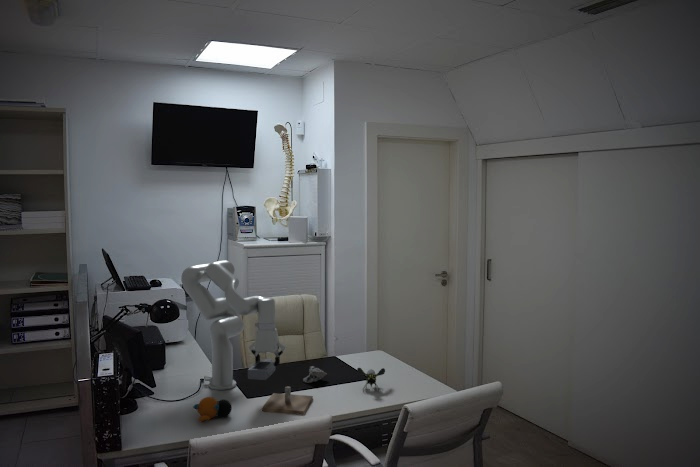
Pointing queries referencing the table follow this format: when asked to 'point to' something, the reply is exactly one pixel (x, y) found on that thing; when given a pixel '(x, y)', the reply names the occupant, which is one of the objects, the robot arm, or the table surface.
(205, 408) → the toy
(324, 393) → the table surface
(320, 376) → the mineral specimen
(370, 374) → the insect
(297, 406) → the keeper board
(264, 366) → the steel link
